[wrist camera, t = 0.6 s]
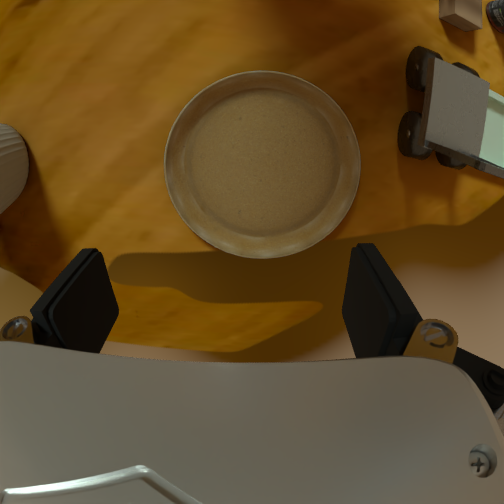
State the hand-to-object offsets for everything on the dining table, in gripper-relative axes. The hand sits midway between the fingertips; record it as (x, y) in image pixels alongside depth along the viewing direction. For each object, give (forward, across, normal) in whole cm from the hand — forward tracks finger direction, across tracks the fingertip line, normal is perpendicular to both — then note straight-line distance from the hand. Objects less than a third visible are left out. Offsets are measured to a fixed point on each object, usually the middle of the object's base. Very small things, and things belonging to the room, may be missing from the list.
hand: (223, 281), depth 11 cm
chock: (+30, -30, -25) cm, 49 cm away
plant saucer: (+30, -2, +2) cm, 30 cm away
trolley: (+30, -25, -7) cm, 39 cm away
